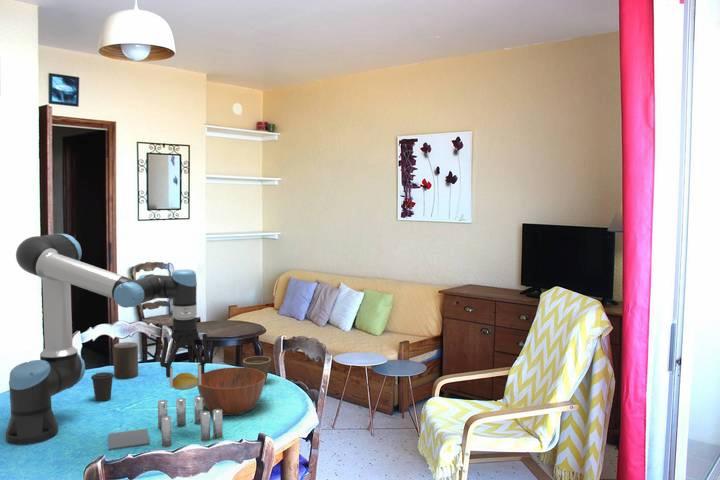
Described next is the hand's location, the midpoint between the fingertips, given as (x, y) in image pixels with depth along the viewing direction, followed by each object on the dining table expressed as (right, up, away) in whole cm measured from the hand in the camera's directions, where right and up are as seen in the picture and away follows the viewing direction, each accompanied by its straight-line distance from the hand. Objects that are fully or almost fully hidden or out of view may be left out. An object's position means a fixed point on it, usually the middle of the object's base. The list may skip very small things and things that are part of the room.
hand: (185, 385), depth 201 cm
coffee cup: (-41, -13, +32) cm, 54 cm away
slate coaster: (-17, -17, -4) cm, 24 cm away
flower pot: (+15, -12, +53) cm, 56 cm away
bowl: (+10, -14, +25) cm, 30 cm away
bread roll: (0, -1, 0) cm, 1 cm away
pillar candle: (-43, -11, +61) cm, 75 cm away
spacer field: (+1, -16, +2) cm, 16 cm away
